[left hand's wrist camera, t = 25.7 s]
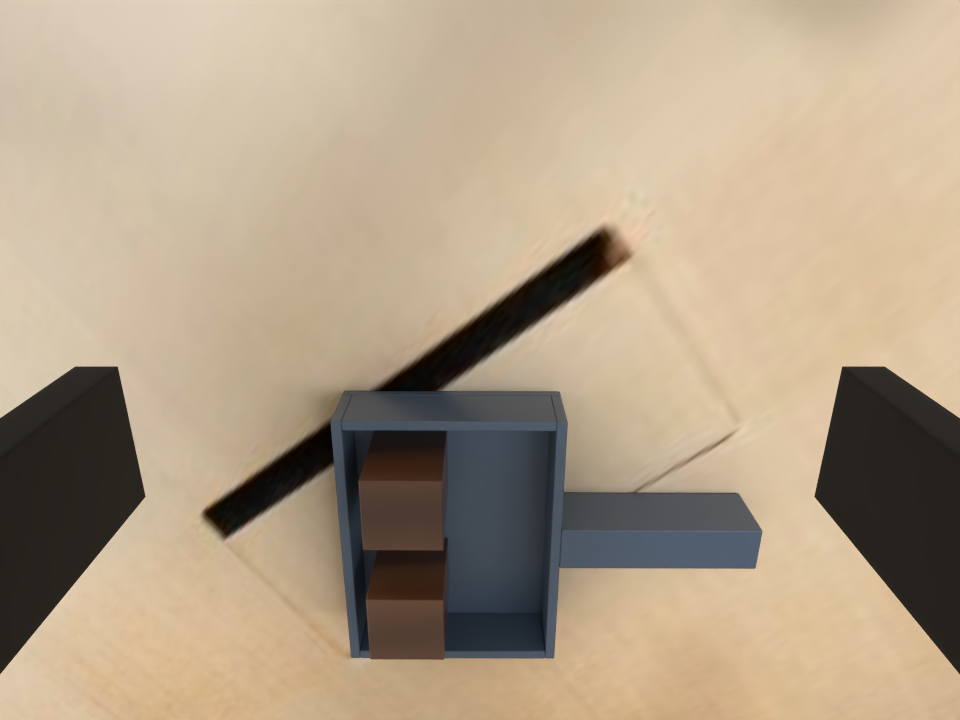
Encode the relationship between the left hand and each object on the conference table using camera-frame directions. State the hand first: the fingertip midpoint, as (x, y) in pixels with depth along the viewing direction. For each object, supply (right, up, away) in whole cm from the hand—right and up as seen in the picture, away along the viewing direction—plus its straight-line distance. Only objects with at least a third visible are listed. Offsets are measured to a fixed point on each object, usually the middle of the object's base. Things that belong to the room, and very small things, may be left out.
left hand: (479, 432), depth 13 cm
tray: (+4, -9, +32) cm, 34 cm away
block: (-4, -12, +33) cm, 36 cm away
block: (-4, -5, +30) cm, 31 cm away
